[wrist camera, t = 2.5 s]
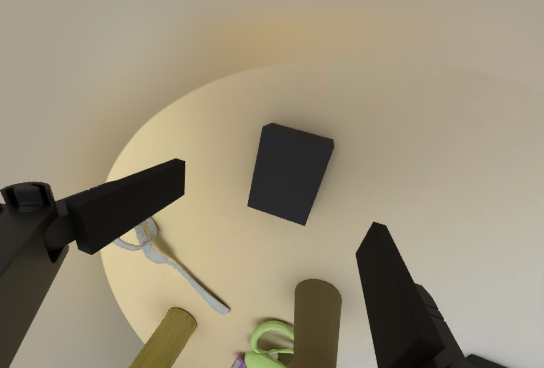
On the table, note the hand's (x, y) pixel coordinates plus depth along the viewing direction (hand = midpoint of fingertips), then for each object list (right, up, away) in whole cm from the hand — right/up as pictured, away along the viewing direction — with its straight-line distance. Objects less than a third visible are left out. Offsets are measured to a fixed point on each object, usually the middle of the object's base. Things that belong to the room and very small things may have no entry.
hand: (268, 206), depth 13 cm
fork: (-14, -12, +18) cm, 25 cm away
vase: (-17, -24, +24) cm, 38 cm away
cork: (+6, -13, +13) cm, 20 cm away
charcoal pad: (+2, +3, +7) cm, 8 cm away
